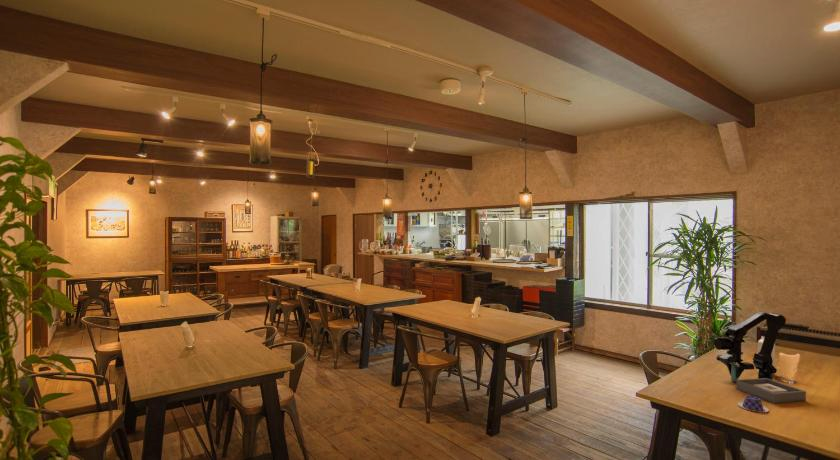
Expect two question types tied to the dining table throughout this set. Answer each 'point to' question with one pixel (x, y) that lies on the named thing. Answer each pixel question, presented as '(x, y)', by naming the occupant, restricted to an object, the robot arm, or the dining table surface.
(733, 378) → the peg
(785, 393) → the box
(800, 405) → the dining table surface
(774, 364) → the milk
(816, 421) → the dining table surface
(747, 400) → the checkered hat
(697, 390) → the dining table surface
